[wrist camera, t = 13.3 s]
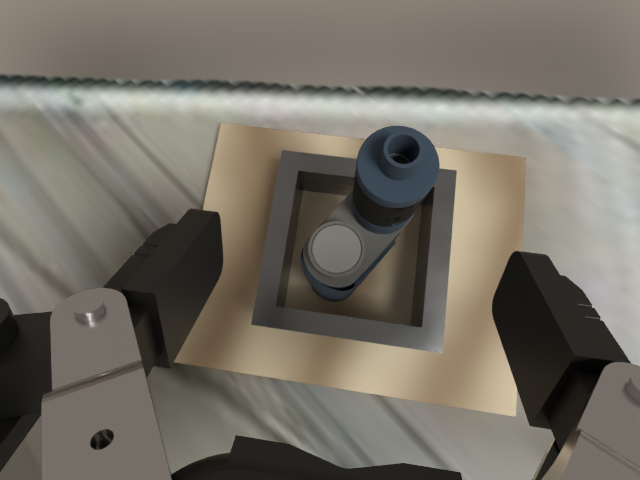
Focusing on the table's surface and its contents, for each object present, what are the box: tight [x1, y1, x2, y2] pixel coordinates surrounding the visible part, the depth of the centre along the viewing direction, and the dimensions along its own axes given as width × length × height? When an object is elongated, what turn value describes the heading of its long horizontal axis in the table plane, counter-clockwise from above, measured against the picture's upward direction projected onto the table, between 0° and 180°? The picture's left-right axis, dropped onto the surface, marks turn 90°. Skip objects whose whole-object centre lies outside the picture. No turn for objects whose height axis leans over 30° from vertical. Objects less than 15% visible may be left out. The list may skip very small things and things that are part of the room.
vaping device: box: [300, 126, 440, 302], centre depth 16 cm, size 3×5×12 cm, turn 137°
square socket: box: [251, 150, 457, 353], centre depth 20 cm, size 9×9×3 cm
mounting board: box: [174, 123, 526, 417], centre depth 22 cm, size 18×14×1 cm
